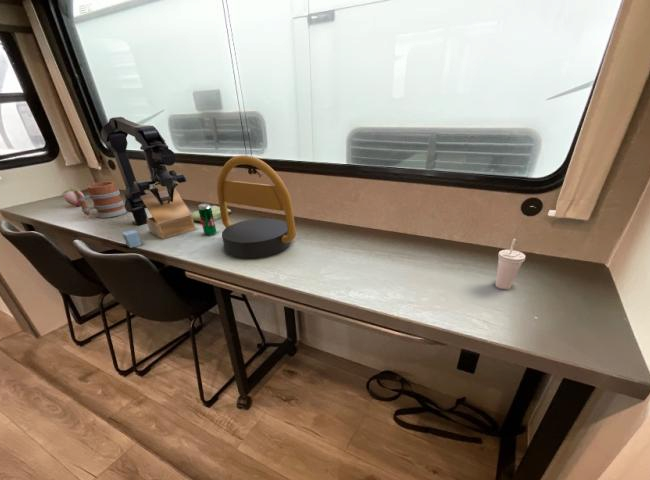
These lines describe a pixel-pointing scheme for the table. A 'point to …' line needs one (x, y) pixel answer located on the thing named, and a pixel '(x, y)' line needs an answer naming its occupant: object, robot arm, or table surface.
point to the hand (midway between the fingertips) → (166, 203)
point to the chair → (257, 233)
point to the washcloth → (215, 213)
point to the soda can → (207, 219)
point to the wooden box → (171, 227)
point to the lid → (166, 207)
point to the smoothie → (508, 266)
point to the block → (132, 238)
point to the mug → (103, 200)
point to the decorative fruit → (72, 196)
